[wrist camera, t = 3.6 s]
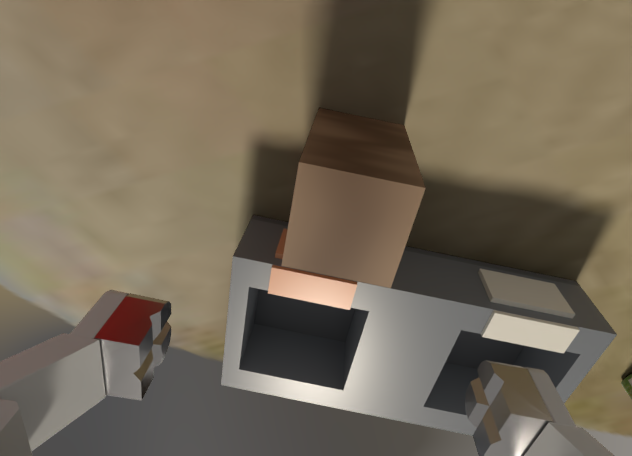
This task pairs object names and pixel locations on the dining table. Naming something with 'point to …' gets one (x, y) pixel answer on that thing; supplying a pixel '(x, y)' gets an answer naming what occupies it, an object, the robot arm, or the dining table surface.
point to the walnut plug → (353, 199)
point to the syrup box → (628, 385)
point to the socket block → (399, 331)
